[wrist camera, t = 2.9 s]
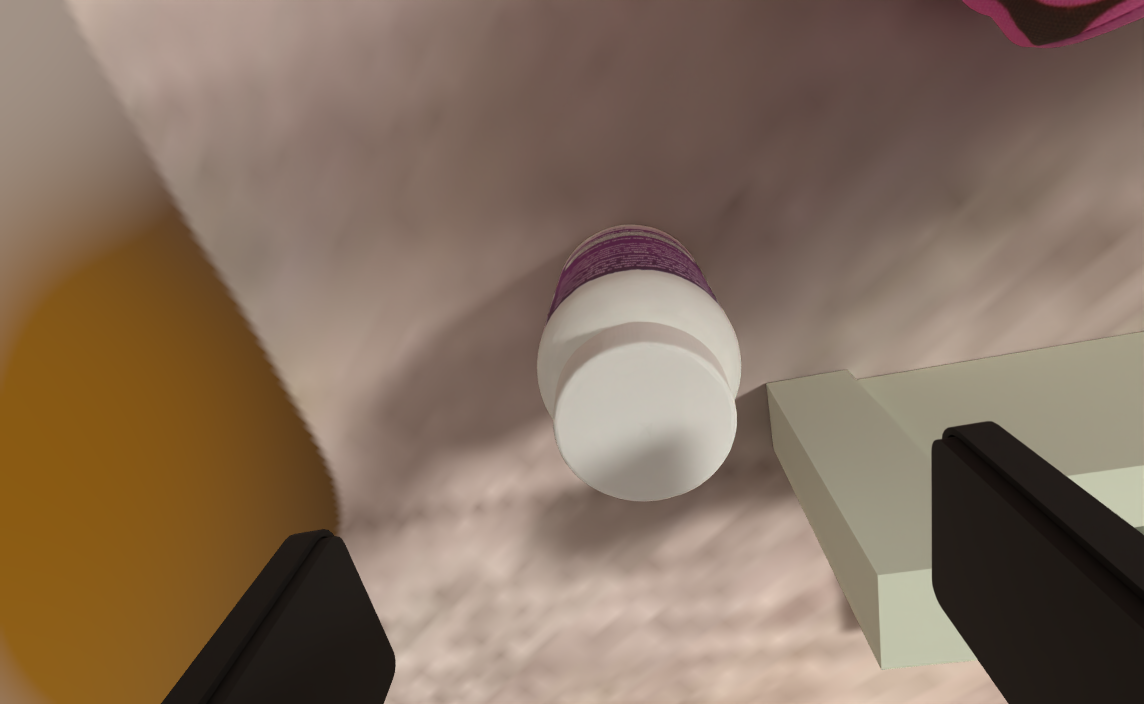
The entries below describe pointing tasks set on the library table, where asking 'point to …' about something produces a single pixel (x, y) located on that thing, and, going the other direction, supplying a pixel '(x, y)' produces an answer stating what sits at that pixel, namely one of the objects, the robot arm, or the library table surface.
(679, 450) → the pill bottle
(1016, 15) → the pencil case
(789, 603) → the library table surface
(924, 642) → the grey holder stand
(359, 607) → the robot arm
